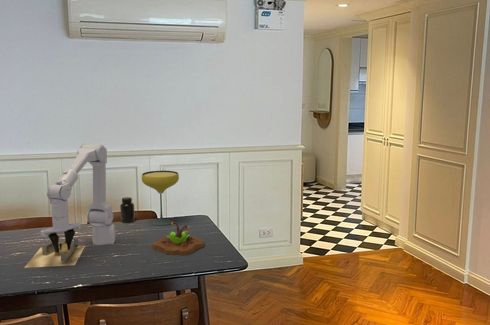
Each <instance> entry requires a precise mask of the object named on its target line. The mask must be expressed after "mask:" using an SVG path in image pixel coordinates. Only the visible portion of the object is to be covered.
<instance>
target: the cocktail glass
mask: <svg viewBox="0 0 490 325" xmlns="http://www.w3.org/2000/svg"><path fill="white" fill-rule="evenodd" d="M179 179H180V176H179V172H178V171H175V170H154V171H153V170H151V171H150V170H149V171H146V172H143V173H142V174H141V182H142V183H143V185H145V186H147V187H149V188H150V189H151V188H152V189H153V190H155V191H156V192H157V193H158V194H159V195H160V196H159V198H160V199H159V200H160V204H159V205H160V215H159V216H160V218H158V219H154V220H152V221H150V224H151V225H152V226H160V227H161V226H163V227H164V226H168V225H171V223H172V222H173V220H171V219H167V218H164V217H163V204H162V201H163V200H162V199H163V198H162V194H163V193H164V192H165V191H166V190H167V189H170V188H171V187H172V186H174V185H176V184H177V183H178V181H179Z"/></svg>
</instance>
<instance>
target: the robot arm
mask: <svg viewBox="0 0 490 325" xmlns="http://www.w3.org/2000/svg"><path fill="white" fill-rule="evenodd" d="M107 150H108V149H107V148H106V147H105V146H104V144H86V143H82V144H80V145H79V147H78V149H77V151H76V152H77V153H76V154H77V155H76V157H75V159H74V161H73V162H72V164H71V165H70V167H69V168H68V169H65V170H63V172H62V174H61V175H60V176H59V178H58V179H57V181H56V182H55V183H53V184H51V185H50V186H49V187H48V188H47V191H46V196H47V198H48V200H49V204H50V205H51V206H50V207H51V218H52V219H51V220H52V226H51V227H48V228H45V229H41V230H40V236H41V237H46V236H48V239H49V240H50V242H52V244H53V246H54V249H55V252H57V253H58V252H59V243H60V236H59V235H58V233H59V234H60V233H63V234H64V238H65V240H64V241H66V242H68V250H70V246H71V242H72V239H73V238H75V235H76V230H80V229H82V227H81V226H82V224H81V223H80V222H76V223H70V219H69V202H68V200H69V198H70V197H71V194H72V193H71V192H72V189H73V187H74V185H75V183H77V181H78V179H79V175H78V174H79V173H80V172H81V170H82V169H83V168H84V167H85V165H86V164H87V163H89V164H90V165H91V167H92V202H91V204H89V206H88V207H87V213H86V219H87V222H88V223H89V225H90V226H91V238H92V244H93V245H94V246H103V245H104V246H105V245H114V244H115V242H116V228H115V224H114V223H112V222H113V219H114V212H113V208H112V207H113V206H111V204H109V203H108V202H107V192H106V190H107V188H106V187H107V182H106V181H107V180H106V178H107V177H106V176H107V172H106V170H107V169H106V167H107V166H106V165H107V163H108V154H107V152H108V151H107Z"/></svg>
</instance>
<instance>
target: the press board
mask: <svg viewBox="0 0 490 325" xmlns="http://www.w3.org/2000/svg"><path fill="white" fill-rule="evenodd" d="M85 248H86V245H78V247H76V248H75V249H74V251H73V252H72V254H71V255H70V257H69V258H68V260H67V261H61V256H56V255H55V252H53V253H51V254H49V255H47V256H46V255H43V254H42V247H40V248H39V249H38V250H37V252H36V253H35V254H34V256H32V258H31V259H30V260H29V261H28V262H27V264H26V265H25V266H24V269H31V268H47V267H67V266H75V265H77V262H78V260H79V259H80V256H81V255H82V253H83V251H84V249H85Z"/></svg>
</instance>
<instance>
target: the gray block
mask: <svg viewBox="0 0 490 325" xmlns="http://www.w3.org/2000/svg"><path fill="white" fill-rule="evenodd" d="M41 248H42V254H43V255H46V256H47V255H49V254H51V253H53V252H55V249H54V246H53V244H52V242H51V241H49V242H47V243H45V244H43V245H41Z"/></svg>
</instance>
